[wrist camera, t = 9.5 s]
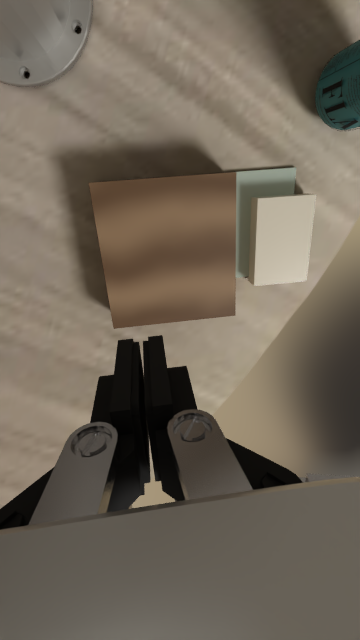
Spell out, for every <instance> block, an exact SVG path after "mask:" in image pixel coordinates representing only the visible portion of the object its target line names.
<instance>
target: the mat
mask: <svg viewBox="0 0 360 640" xmlns="http://www.w3.org/2000/svg"><path fill="white" fill-rule="evenodd" d="M228 173H229V172H228ZM295 177H296V168H283V169H269V170H255V171H242V172H236V278H238V277H248V276H249V250H250V221H251V197H264V196H278V195H292V194H294V189H295Z"/></svg>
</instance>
